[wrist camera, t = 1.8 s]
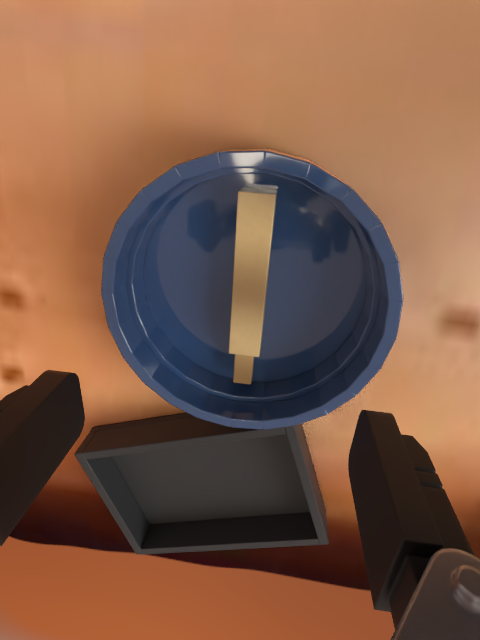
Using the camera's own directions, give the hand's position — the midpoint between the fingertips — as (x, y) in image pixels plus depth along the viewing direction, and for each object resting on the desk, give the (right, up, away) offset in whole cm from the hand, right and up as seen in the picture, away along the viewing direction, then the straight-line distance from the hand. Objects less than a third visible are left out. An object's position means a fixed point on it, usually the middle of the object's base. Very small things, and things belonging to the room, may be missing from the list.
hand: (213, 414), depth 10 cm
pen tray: (-1, -8, +15) cm, 17 cm away
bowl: (+1, +4, +9) cm, 10 cm away
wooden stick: (+1, +4, +9) cm, 10 cm away
